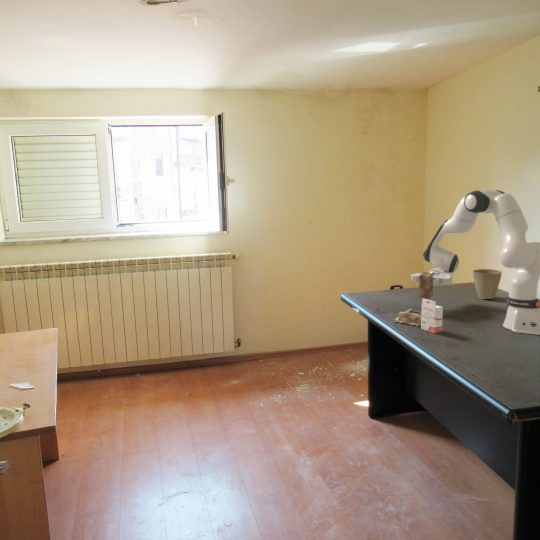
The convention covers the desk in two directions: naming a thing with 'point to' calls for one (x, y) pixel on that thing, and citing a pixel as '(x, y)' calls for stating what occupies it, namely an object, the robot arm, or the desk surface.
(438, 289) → the desk surface
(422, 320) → the ink cartridge box
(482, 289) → the plant pot
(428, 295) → the tall tan wooden block
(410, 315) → the track
